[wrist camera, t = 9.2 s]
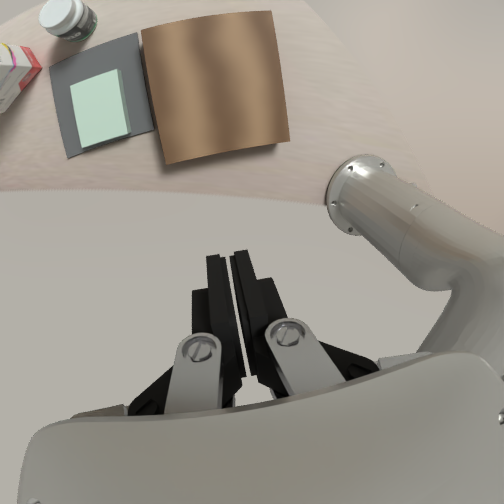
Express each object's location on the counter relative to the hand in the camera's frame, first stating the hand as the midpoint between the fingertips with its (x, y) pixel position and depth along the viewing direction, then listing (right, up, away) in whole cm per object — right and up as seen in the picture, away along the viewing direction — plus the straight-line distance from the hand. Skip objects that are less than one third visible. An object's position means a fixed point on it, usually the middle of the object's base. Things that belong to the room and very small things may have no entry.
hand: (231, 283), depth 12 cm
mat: (-18, +20, +15) cm, 30 cm away
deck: (-4, +21, +18) cm, 27 cm away
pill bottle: (-20, +29, +10) cm, 36 cm away
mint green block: (-16, +17, +14) cm, 28 cm away
